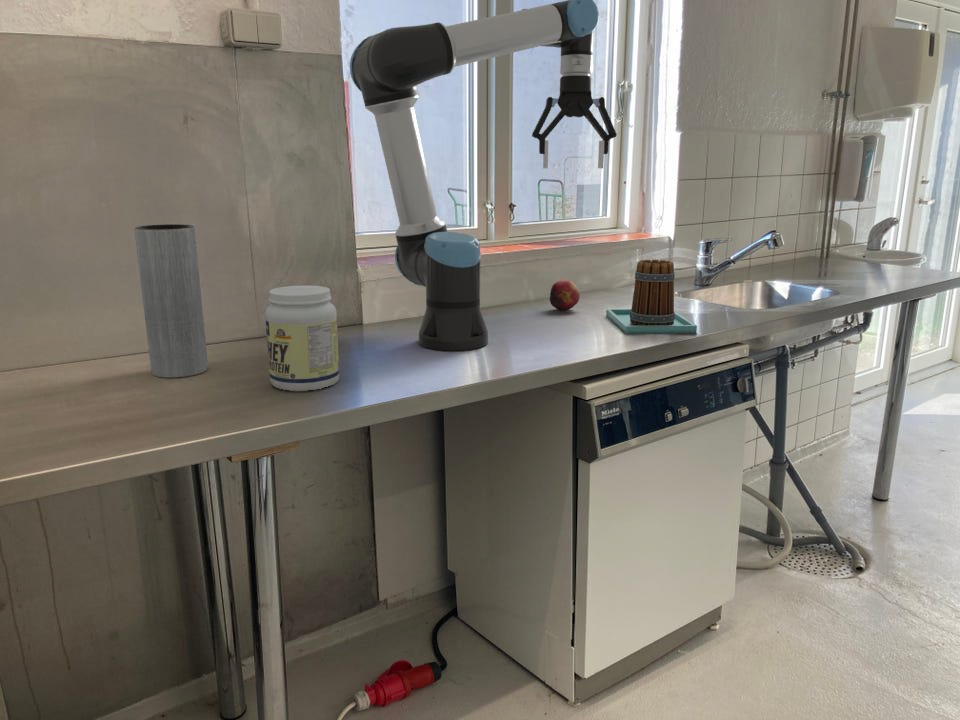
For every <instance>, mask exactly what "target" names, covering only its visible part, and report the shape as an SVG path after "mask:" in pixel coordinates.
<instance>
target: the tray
mask: <svg viewBox="0 0 960 720" xmlns="http://www.w3.org/2000/svg"><path fill="white" fill-rule="evenodd" d="M631 309H632V308H606V311H605V317H606V318H607V319H609V320H610V322H612V323H613V325H615V326H616V327H617V328H618V329H619V330H620V331H621V332H622V333H624V335H649V334H650V335H652V334H654V335H659V334H660V335H662V334H664V335H665V334H675V335H676V334H697V330H698V329H697V328H698V326H697V324H695V323H693V322H692V321H690V320H689V319H688V318H686V317H684V316H682V315H681V314H680V313H678V312H676V311H675V310H674V312H675V320H674V324H673V325H643V326H635V325H633V324H632V323H631V322H630V311H631Z"/></svg>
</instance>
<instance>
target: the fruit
mask: <svg viewBox="0 0 960 720" xmlns="http://www.w3.org/2000/svg"><path fill="white" fill-rule="evenodd" d="M551 286H552V287H551V289H550V293H549V301H550V305H551V306H552V307H553V308H554V309H556V310H558V311H563V312H566V311H569V310H570V309H573V308H574V307H575V306H577V304H578V303H579V300H580V297H581V295H580V294H581V293H580V291H579V289H578V286H577V285H576V283H574V282H573V281H572V280H559V281H556V282H554V283H553V284H552V285H551Z"/></svg>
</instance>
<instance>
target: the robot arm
mask: <svg viewBox="0 0 960 720" xmlns="http://www.w3.org/2000/svg"><path fill="white" fill-rule="evenodd" d="M599 20H600V12H599V8H598V6H597V3H596V2H595V0H562V1H559V2H555V3H554V2H553V3H550V4H544V5H541V6H535V7H530V8H522V9H521V10H517V11H512V12H507V13H506V12H505V13H503V14H497V15H494V16H493V15H492V16H489V17H483V18H478V19H475V20H470V21H465V22H460V23H455V24H450V25H447V26H446V25H445V24H443V23H442V22H433V23H428V24H427V23H426V24H420V25H413V26H411V25H410V26H409V25H408V26H397V27H391V28H387V29H385V30H382V31H381V32H379V33H375V34H373V35H370V36H367V37H366V38H364V39H363V40H362V41H361V42H360V43H359V44H357V46H356V47H355V49H354V50H353V52H352V54H351V57H350V61H349V75H350V76H351V80H352V82H353V84H354V85H355V87H356V88H357V89H358V90H359V91H360V92H361V95H362V100H363V103H364V104H363V105H364V106H365V109H366V110H367V111H369V112H370V113H372V114H373V115H374V120H375V123H376V127H377V128H376V129H377V131H378V136H379V141H380V145H381V149H382V152H383V157H384V162H385V167H386V170H387V175H388V179H389V183H390V188H391V191H392V196H393V201H394V205H395V209H396V210H395V211H396V213H397V219H398V223H399V225H398V227H397V229H396V231H395V233H394V235H395V238H396V243H397V246H396V248H395V253H394V259H395V264H396V268H397V270H398V272H399V273H400V274H401V275H402V276H403V277H404V278H405V279H406V280H408V282H411V283H412V284H414V285H417V286H421V287H425V296H426V297H425V298H426V301H425V302H426V307H425V312H424V315H423V319H422V321H421V324H420V329H419V332H418V345H420V346H421V347H423V348H425V349H426V348H427V349H430V350H436V351H437V350H438V351H447V352H448V351H450V352H451V351H457V352H458V351H467V350H470V351H471V350H475V349H480V348H483V347H486V346H487V345H488V344H489V332H488V328H487V325H486V322H485V319H484V316H483V313H482V309H481V259H482V253H481V246H480V241H479V240H478V239H477V238H476V237H474V236H473V235H470V234H467V233H463V232H461V233H459V232H457V231H456V232H455V231H448V228H447V225H446V222H445V221H444V220H442V219H441V218H440V217H439V216H438V215H437V210H436V204H435V201H434V200H435V199H434V197H433V196H434V195H433V191H432V187H431V183H430V182H431V181H430V176H429V172H428V167H427V164H426V163H427V162H426V158H425V154H424V149H423V145H422V144H423V143H422V139H421V135H420V131H419V126H418V122H417V117H416V116H417V115H416V113H415V112H416V110H415V104H416V103H417V101H418V99H419V96H420V95H419V92H418V91H419V90H418V85H421V84H422V83H424V82H425V83H426V82H427V81H429V80H433V79H435V78H439V77H441V76H445V75H449V74H451V73H452V72H453V71H454V68H455V67H460V66H465V65H468V64H472V63H476V62H481V61H485V60H488V59H489V60H490V59H493V58H496V57H500V56H505V55H508V54H512V53H513V54H514V53H516V52H517V53H518V52H521V51H525V50H529V49H534V48H538V47H550V48H560V67H559V68H560V69H559V71H560V72H559V73H560V75H562V76H561V77H560V78H559V95H558V96H559V97H558V98H554V97H552V96H548V97H547V98H546V101H545V106H544V109H543V111H542V113H541V115H540V117H539V119H538V121H537V124H536V125H535V128H534V129H533V132H532V134H531V137H532V138H534V139H537V140H538V141H539V142H538V143H539V144H538V149H539V150H538V153H539V155H543V156H542V159H543V161H542V162H543V163H542V169H548V168H549V140H547V139H546V138H547V137H548V136H549V135H550V134H551V133H552V131H553V130H554V128H556V127H557V125H558V124H559V123H560V122H561V121H562V119H563V118H564V117H567V118H574V117H575V118H583V117H584V118H585V119H586V120H587V122H589V123H590V125H591V126H592V127H593V129H594V130H595V132H596V133H597V134H598V135H599V137H600V139H602V140H599V141H598V159H597V169H604V163H605V162H604V159H605V155H607V154H609V143H610V140H611V139H613V138H616V137H617V132H616V129H615V127H614V125H613V122H612V120H611V118H610V116H609V113H608V110H607V108H606V104H605V103H606V101H605V98H604V97H603V96H601V97H599V98H593V97H592V91H593V90H592V87H593V86H592V85H593V78H592V77H591V75H592V73H593V56H594V54H593V53H594V36H595V29H596V28H597V27H598V24H599ZM556 104H557V106H558V107H559V108H560V111H559V112H558V113H557V114H556V116H555V117H554V118H553V119H552V121H551V122H550V123H549V124H548V126H547V127H546V128H545V129H544V131H543V132H542V133H540V132H541V130H542V128H543V126H544V124H545V122H546V120H547V118H548V117H549V115H550V113H551V110H552V108H554V107H555V106H556ZM593 105H594V106H595V107H596V108H597V109H598V112H599V114H600V117H601V119H602V122H603V124H604V127H605V128H606V130H605V129H604V128H603V127H602V125H601V124H600V122H599V121H598V120H597V119H596V118H595V116H594V114H593V112H592V111H591V110H590V109H591V107H592V106H593Z"/></svg>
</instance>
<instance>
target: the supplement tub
mask: <svg viewBox="0 0 960 720" xmlns="http://www.w3.org/2000/svg"><path fill="white" fill-rule="evenodd" d="M268 297H269V298H268V302H270V305H268V306H267V308H266V310H265V312H264V314H265V315H264V318H265V319H264V320H265V332H266V344H267V360H268V371H269V373H268V374H269V376H268V377H269V381H270V383H271V385H272V386H273V387H275V388H276V389H278V388H279V389H278V390H281V389H283V390H282V391H285V390H290V391H289V392H307V391H306V390H314V389H320V388H324V387H327V388H329V387H328V386H330V387H332V386H333V385H335V384H336V383H337V382H338V381H339V379H340V359H339V354H340V353H339V336H338V316H337V315H338V312H337V308H336V307H335V305H334V304H332V302H331V301H330V300H331V299H332V296H331V288H329V287H326V286H321V285H305V284H303V285H287V286H281V287H275V288H272V289H270V290H269V291H268ZM331 385H332V386H331ZM324 389H325V388H324ZM320 390H321V389H320ZM314 391H315V390H314Z"/></svg>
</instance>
